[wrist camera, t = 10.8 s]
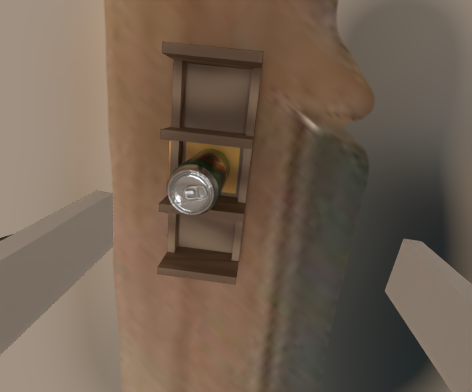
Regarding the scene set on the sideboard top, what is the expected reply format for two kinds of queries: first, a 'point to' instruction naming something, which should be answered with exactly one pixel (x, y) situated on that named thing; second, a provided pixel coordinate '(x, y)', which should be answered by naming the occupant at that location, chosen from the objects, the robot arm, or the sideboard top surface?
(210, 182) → the soda can
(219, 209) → the slot rack
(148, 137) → the sideboard top surface
